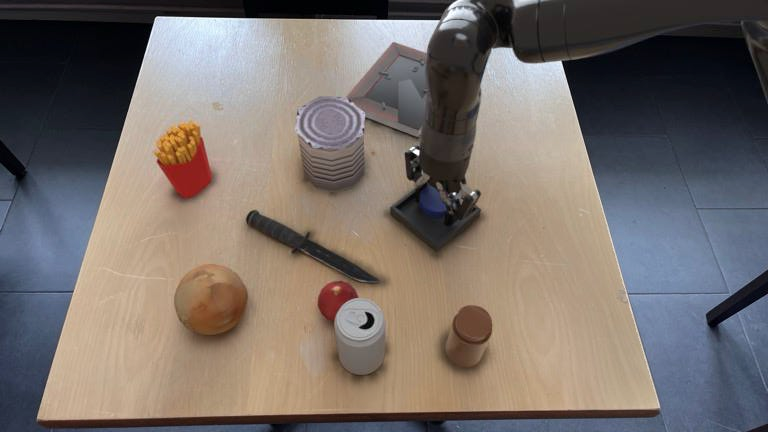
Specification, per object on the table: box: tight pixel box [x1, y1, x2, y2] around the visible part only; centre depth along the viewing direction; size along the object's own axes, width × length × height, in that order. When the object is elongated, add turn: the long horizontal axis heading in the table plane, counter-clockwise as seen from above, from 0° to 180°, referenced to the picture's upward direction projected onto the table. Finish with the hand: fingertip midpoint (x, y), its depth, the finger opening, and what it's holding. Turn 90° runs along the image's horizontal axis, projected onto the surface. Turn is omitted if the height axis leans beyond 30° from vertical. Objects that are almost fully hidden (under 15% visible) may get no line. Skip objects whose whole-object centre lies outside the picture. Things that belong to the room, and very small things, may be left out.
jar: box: [444, 304, 494, 369], centre depth 70 cm, size 5×5×10 cm
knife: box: [245, 209, 382, 283], centre depth 82 cm, size 24×5×3 cm, turn 55°
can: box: [294, 95, 366, 194], centre depth 89 cm, size 11×11×12 cm
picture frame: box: [346, 41, 428, 138], centre depth 105 cm, size 16×2×22 cm
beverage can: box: [333, 297, 387, 376], centre depth 69 cm, size 6×6×12 cm
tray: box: [389, 187, 482, 254], centre depth 87 cm, size 11×11×2 cm
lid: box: [419, 185, 455, 219], centre depth 85 cm, size 6×6×2 cm
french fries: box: [152, 119, 213, 199], centre depth 86 cm, size 8×4×12 cm, turn 145°
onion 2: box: [317, 280, 359, 323], centre depth 74 cm, size 6×6×8 cm
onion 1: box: [173, 263, 249, 336], centre depth 73 cm, size 10×10×10 cm
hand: (435, 211), depth 87 cm, fingers closed on lid, 5 cm apart
